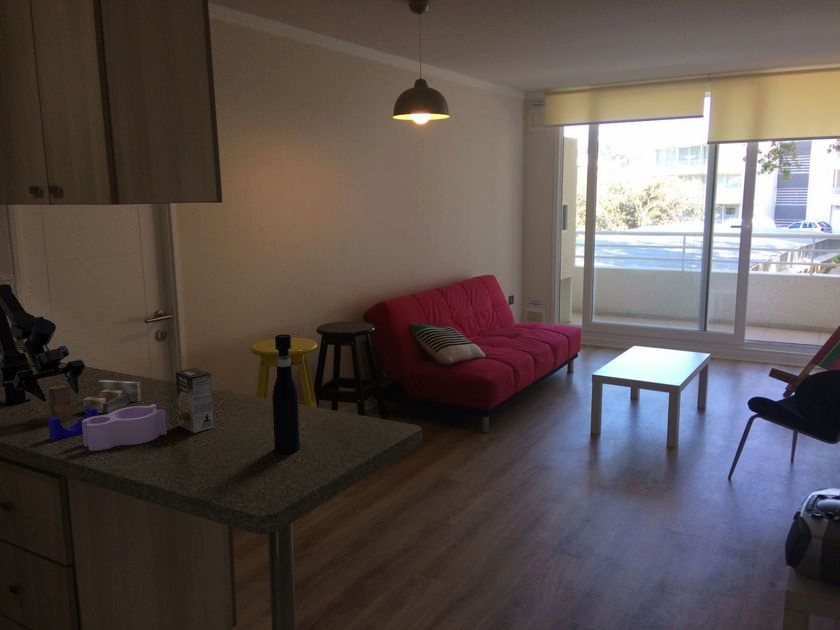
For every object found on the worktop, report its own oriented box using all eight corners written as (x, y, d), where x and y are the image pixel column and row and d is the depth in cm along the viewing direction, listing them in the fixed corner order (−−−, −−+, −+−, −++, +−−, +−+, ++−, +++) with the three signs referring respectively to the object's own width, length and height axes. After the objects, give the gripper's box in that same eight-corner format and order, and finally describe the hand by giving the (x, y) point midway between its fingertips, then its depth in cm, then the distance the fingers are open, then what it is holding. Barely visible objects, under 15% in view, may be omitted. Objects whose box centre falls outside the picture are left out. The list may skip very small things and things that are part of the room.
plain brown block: (51, 420, 199) (48, 387, 197) (65, 417, 202) (62, 384, 201) (58, 423, 197) (55, 390, 195) (72, 419, 200) (69, 386, 198)
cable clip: (90, 426, 195) (88, 406, 194) (98, 429, 192) (97, 409, 191) (47, 438, 185) (45, 417, 184) (55, 441, 183) (53, 420, 182)
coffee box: (177, 425, 194) (174, 371, 192) (198, 420, 199) (195, 367, 196) (194, 433, 188) (190, 377, 185) (215, 427, 193) (211, 372, 190)
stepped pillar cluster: (72, 411, 208) (70, 392, 206) (102, 397, 221) (100, 379, 220) (113, 414, 205) (111, 394, 204) (141, 400, 219) (139, 382, 218)
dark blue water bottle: (287, 455, 172) (283, 339, 167) (269, 450, 175) (264, 336, 170) (304, 447, 177) (301, 335, 172) (286, 443, 181) (282, 332, 176)
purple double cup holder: (94, 455, 173) (92, 429, 172) (79, 442, 182) (76, 417, 181) (171, 436, 186) (169, 412, 185) (153, 425, 195) (151, 402, 194)
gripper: (12, 344, 190) (35, 388, 186) (79, 333, 205) (101, 374, 200) (3, 367, 196) (25, 411, 192) (68, 355, 211) (90, 395, 206)
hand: (61, 397), depth 197 cm, fingers open, 9 cm apart
